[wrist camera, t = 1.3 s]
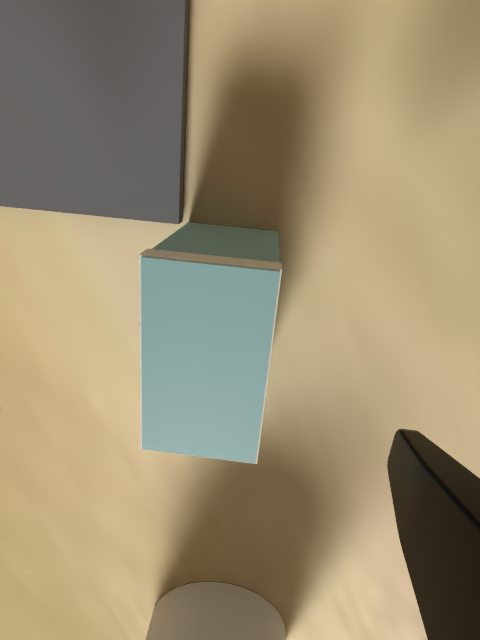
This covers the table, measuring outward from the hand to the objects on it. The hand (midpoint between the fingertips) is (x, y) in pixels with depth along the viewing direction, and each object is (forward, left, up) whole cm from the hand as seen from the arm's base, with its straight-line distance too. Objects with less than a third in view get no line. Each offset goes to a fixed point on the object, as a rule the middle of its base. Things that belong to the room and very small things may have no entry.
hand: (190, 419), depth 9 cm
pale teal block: (0, 0, -8) cm, 8 cm away
